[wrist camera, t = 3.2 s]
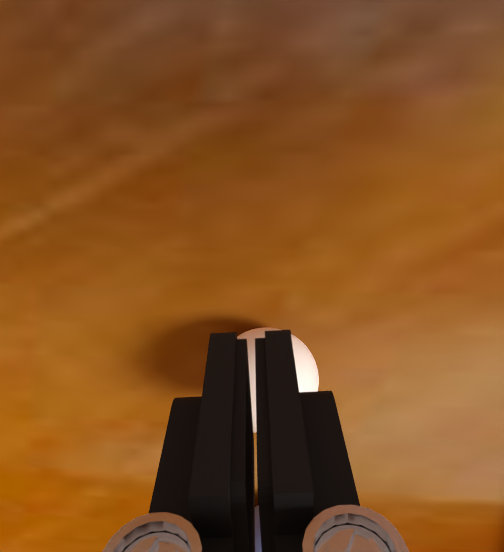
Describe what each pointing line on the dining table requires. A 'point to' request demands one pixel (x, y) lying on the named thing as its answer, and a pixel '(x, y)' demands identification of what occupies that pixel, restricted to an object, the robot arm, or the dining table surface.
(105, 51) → the dining table surface
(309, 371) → the cue ball
